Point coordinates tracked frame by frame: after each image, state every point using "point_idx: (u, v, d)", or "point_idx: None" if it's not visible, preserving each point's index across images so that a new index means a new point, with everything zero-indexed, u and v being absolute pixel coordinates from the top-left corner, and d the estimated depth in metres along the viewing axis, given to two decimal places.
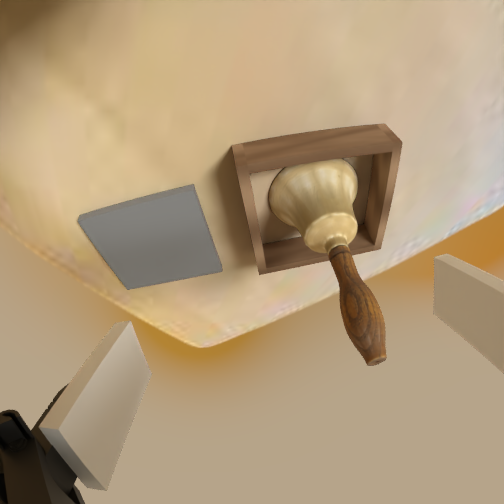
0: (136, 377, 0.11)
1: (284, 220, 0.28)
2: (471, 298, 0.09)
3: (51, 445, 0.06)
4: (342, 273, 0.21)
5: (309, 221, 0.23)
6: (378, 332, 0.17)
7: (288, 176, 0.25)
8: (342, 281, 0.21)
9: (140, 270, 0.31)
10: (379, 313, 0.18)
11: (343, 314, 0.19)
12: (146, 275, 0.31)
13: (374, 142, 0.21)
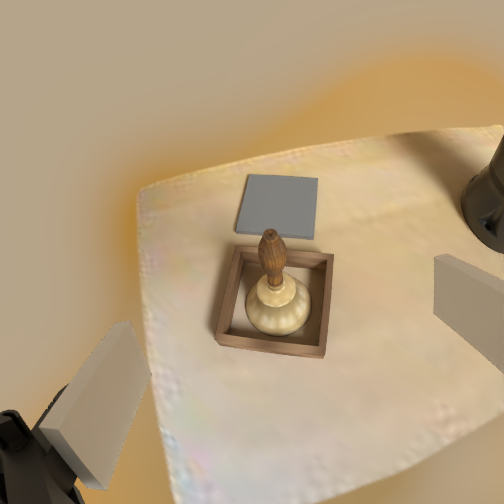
0: (136, 377, 0.11)
1: None
2: (471, 298, 0.09)
3: (51, 445, 0.06)
4: None
5: (290, 277, 0.36)
6: (281, 248, 0.27)
7: (303, 287, 0.39)
8: None
9: (263, 188, 0.48)
10: (281, 260, 0.28)
11: None
12: (257, 189, 0.48)
13: (326, 335, 0.34)
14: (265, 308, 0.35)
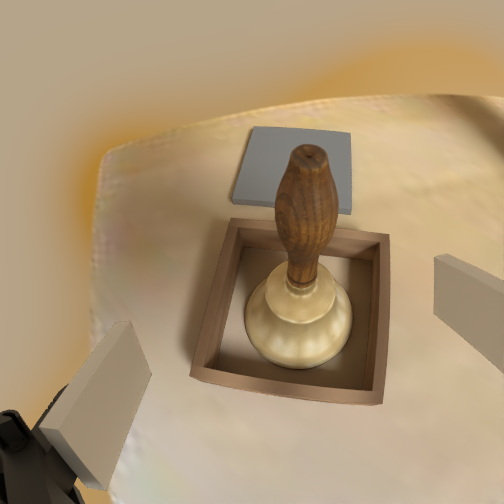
0: (136, 377, 0.11)
1: None
2: (471, 298, 0.09)
3: (51, 445, 0.06)
4: None
5: None
6: (333, 195, 0.11)
7: (340, 288, 0.23)
8: None
9: (274, 143, 0.32)
10: (329, 226, 0.12)
11: None
12: (264, 144, 0.32)
13: None
14: (280, 325, 0.19)
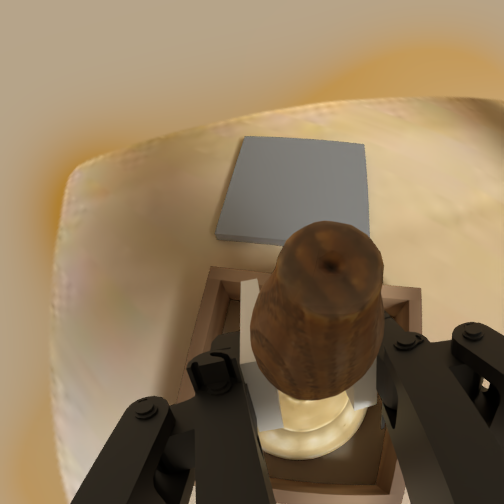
0: None
1: None
2: None
3: (246, 384, 0.08)
4: None
5: None
6: (378, 337, 0.04)
7: None
8: None
9: (269, 157, 0.26)
10: (359, 379, 0.05)
11: None
12: (258, 159, 0.26)
13: None
14: None
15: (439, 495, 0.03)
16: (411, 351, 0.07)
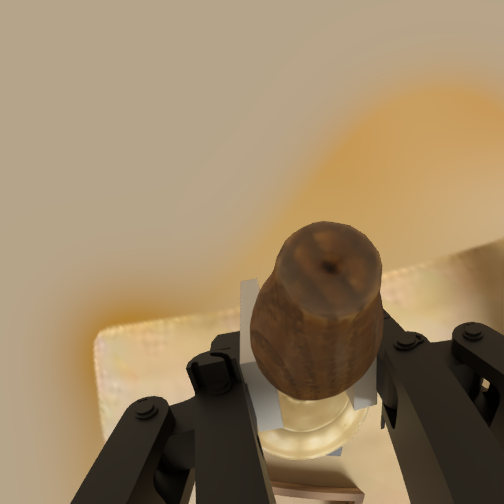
0: None
1: None
2: None
3: (246, 384, 0.08)
4: None
5: None
6: (377, 337, 0.04)
7: None
8: None
9: None
10: None
11: None
12: None
13: None
14: None
15: (439, 495, 0.03)
16: (411, 351, 0.07)
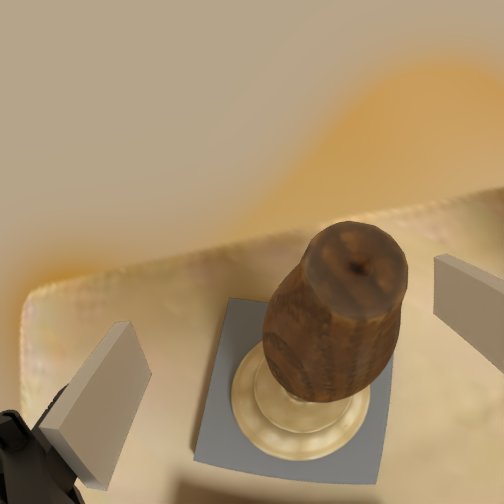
0: (136, 377, 0.11)
1: None
2: (471, 297, 0.09)
3: (51, 445, 0.06)
4: None
5: None
6: (395, 338, 0.04)
7: None
8: None
9: None
10: (373, 380, 0.05)
11: None
12: (246, 348, 0.19)
13: None
14: (275, 427, 0.13)
15: None
16: None
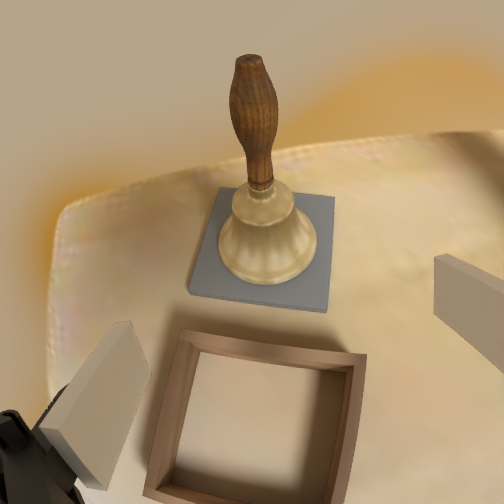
0: (136, 377, 0.11)
1: None
2: (471, 297, 0.09)
3: (51, 445, 0.06)
4: None
5: None
6: (269, 87, 0.14)
7: (304, 215, 0.26)
8: None
9: None
10: (268, 112, 0.15)
11: None
12: (230, 214, 0.28)
13: None
14: (245, 232, 0.22)
15: None
16: None
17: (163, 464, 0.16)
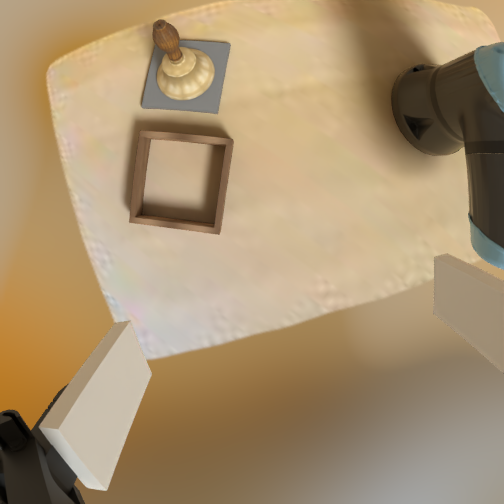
0: (136, 377, 0.11)
1: None
2: (471, 297, 0.09)
3: (51, 445, 0.06)
4: (178, 45, 0.29)
5: (192, 51, 0.33)
6: (171, 33, 0.24)
7: (207, 58, 0.37)
8: None
9: None
10: (172, 42, 0.25)
11: None
12: None
13: (221, 217, 0.41)
14: (169, 78, 0.34)
15: None
16: None
17: (137, 202, 0.41)
